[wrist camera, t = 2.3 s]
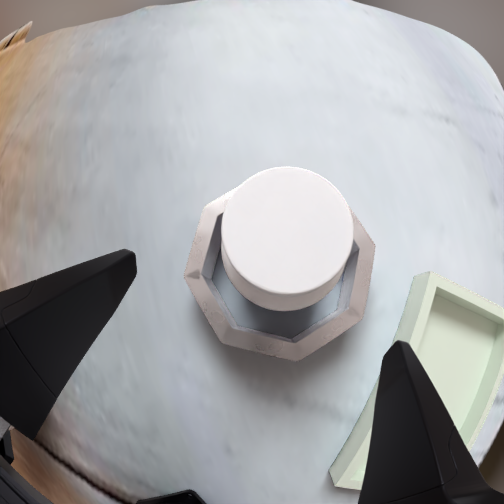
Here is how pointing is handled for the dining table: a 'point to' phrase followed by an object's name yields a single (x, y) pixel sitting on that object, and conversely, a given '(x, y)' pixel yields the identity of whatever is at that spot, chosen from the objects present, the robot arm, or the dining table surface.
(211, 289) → the steel collar
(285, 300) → the pill bottle
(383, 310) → the dining table surface
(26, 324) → the robot arm
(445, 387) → the sage tray
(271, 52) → the dining table surface
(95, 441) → the dining table surface
